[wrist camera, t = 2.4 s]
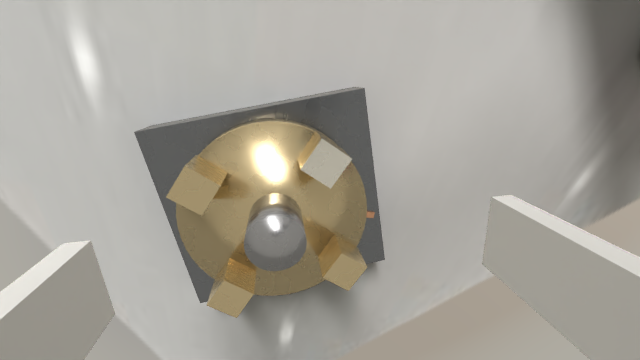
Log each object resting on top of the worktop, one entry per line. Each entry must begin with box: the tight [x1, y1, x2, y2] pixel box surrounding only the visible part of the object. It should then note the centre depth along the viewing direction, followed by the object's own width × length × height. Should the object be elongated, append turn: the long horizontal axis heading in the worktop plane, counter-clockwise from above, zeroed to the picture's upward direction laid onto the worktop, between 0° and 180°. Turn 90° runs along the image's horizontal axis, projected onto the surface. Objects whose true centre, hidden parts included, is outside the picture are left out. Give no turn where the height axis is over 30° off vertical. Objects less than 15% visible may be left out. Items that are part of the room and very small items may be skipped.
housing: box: [134, 87, 385, 303], centre depth 34 cm, size 20×22×4 cm
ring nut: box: [166, 119, 367, 318], centre depth 28 cm, size 18×18×8 cm
